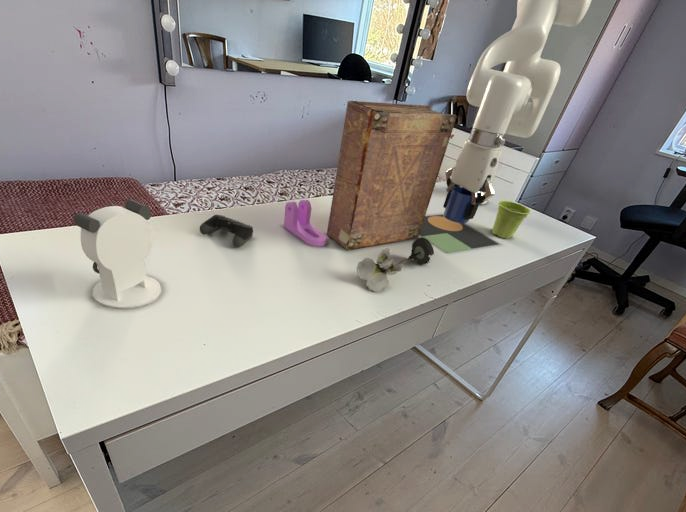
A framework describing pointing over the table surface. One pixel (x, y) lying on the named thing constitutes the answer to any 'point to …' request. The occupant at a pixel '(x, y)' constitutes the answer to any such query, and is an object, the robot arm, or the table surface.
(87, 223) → the white rounded piece
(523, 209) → the plant pot
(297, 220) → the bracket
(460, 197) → the blue cup
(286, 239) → the table surface
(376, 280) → the artificial flower
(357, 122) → the book
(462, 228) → the desk mat
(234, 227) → the gaming controller
